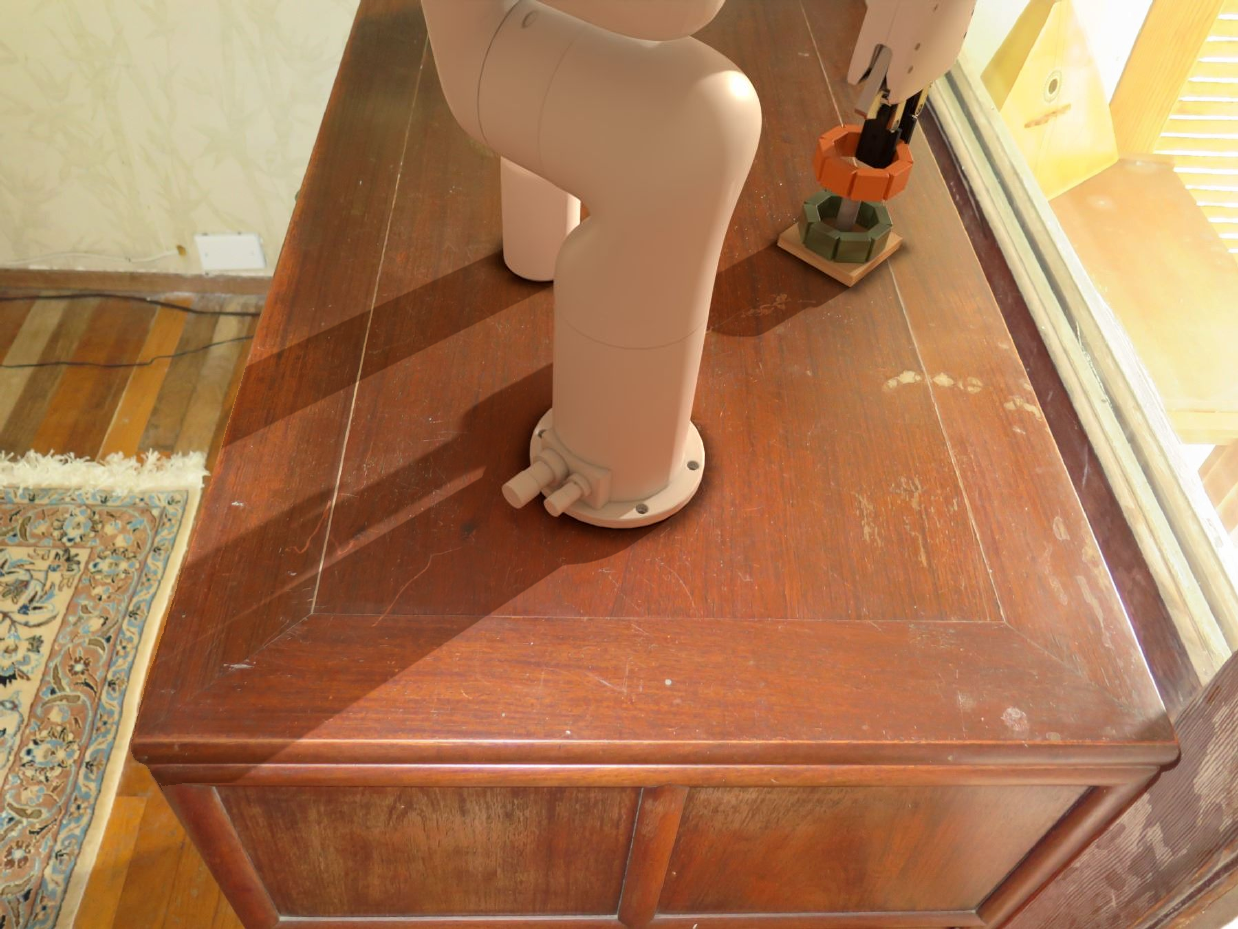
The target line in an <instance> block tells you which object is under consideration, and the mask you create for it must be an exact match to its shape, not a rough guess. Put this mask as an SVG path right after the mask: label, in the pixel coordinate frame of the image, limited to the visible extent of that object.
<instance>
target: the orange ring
mask: <svg viewBox="0 0 1238 929" xmlns="http://www.w3.org/2000/svg"><path fill="white" fill-rule="evenodd" d="M862 129H863V125H858V124H843V126H841V125H837V126H835V127H834V128H832V129H830V130H828V131H826V132H824V133H823V134H822V135H820V136H819V138H818V139H817V145H816V149H815V152H814V156H813V160H812V167H813V170H814V176H815V179H816V182H819V185H820V186H821V187H824V189H825V188H827V189H829V190H831V191H832V192H834V193H836V194H838V195H839V196H841V197H843V198H847V197H848V196H849V197H850V200H856V201H874V202H882V203H883V201H885V202H888V201H889V200H891V199H892V198H893V197H895V196H897V195H898V194H900V193H901V192H903V191H904V190H905V189H906V185H907V183H908V180H909V177H910V174H911V171H912V168H913V165H914V161H915V160H914V159H913V155H912V153H911V150H910V145H909V146H908V144H904V140H902V139H900V138H899V141H898V144H897V147H896V150H895V153H894V156H893V160H892V163H891V165H890V166H888V167H886V168H885V169H874V168H872V167H859V166H856V165H854V164H853V163H851V162H850V161H847V160H845V159H844V158H845V157H846V158H856V157H855V153H856V150H857V146H858V143H859V139H860V136H861V132H862ZM842 157H844V158H842Z"/></svg>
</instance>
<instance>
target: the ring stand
mask: <svg viewBox="0 0 1238 929" xmlns="http://www.w3.org/2000/svg"><path fill="white" fill-rule="evenodd" d="M893 225H894V224H893V221H892V218H891V215H890V212H889V209H888V208H887V206H886V205H885V206H884V202H883V201H882V202H874V201H856V200H850V197H849V196H848V197H847V198H843V197H841V196H839V195H838V194H836V193H834V192H832V191H831V190H829V189H827V188H825V187H824V190H823V189H820V190H818V191H816V192H815V193H813V194H812V195H810V196H809V197H808V198H807V199H805V200H804V201H803V204H802V206H801V211H800V215H799V219H798V221H796V222H795V223H794V224H792V225H791V226H790V227H788V228H787V229H786V230H784V231H783V232H782V233H780V234H779V237H778V240H777V244H776V245H777V246H778V247H780V248H781V249H783V250H785V251H786V252H788V253H790V254H791V255H793V256H795V257H797V258H798V259H800V260H802V261H803V262H805V263H807V264H808V265H810V266H812V267H814V268H816V269H818V271H821V272H823V273H824V274H826V275H828V276H830V277H831V278H833V279H835V280H837V281H838V282H840V283H842V284H843V285H845V286H847V287H849V288H851V287H853V286H854V285H855V284H857V282H859V281H860V280H861V279H862V278H864V277H865V276H866V275H867V274H869V273H871V271H872V270H874V269H875V268H876V267H877V266H879V265H880V264H881V263H883V261H885V260H886V259H887V258H889V257H890V256H891V255H893V254H894V253H895V252H896V251H897V250H899V248H900V247H901V246H900V245H901V243H902V240H903V237H901V236H900V235H898V234H896V233H894V232H892V228H893Z"/></svg>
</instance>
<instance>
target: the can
mask: <svg viewBox="0 0 1238 929" xmlns="http://www.w3.org/2000/svg"><path fill="white" fill-rule="evenodd" d="M499 157H500V160H499V161H500V163H499V164H500V192H501V193H500V194H501V195H500V196H501V226H502V250H503V260H504V263H505V266H507V268H508V269H510V271H512V272H513V273H514V274H515V275H517V276H518V277H520V278H522V279H525V280H527V281H531V282H539V283H541V282H543V283H544V282H552V281H554V271H555V263H556V258H557V255H558V252H559V250H560V247H561V245H562V243H563V242H564V240H565V239H566V237H567V236H568V235H569V233H570V232H571V231H572V230H573V229H574V228H575V227H576V226H577V225H579V224H580V223H581V203H582V202H581V201H580V200H578V199H577V198H576V197H574V196H572V195H571V194H569V193H567V192H565V191H564V190H562V189H560V188H558V187H556V186H555V185H553V184H552V183H551V182H549V181H547V180H545V179H544V178H542V177H540V176H538V175H536V174H534V173H532V172H530V171H528V170H526V169H524V168H523V167H521V166H519V165H517V164H515V163H513V162H511V161H509V160H507V159H505V158H504V157H502V156H500V155H499Z"/></svg>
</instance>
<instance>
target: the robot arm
mask: <svg viewBox="0 0 1238 929" xmlns="http://www.w3.org/2000/svg"><path fill="white" fill-rule="evenodd" d="M977 1H978V0H869V3H868V6H867V9H866V12H865V15H864V18H863V21H862V24H861V28H860V31H859V33H858V37H857V40H856V43H855V46H854V50H853V54H852V57H851V60H850V63H849V67H848V71H847V76H846V81H847V84H848V85H849V86H851V87H856V86H858V85H859V84H861V83H863V82H865V81H866V82H865V84H864V86H863V88H862V91H861V93H860V96H859V97H858V99H857V102H856V105H855V107H854V110H853V112H854V114H856V115H858V116H860V117H863V120H864V121H863V125H862V126H863V129H862V132H861V136H860V139H859V143H858V146H857V150H856V153H855V157H854V158H855V159H856V160H857V161H859V162H861V163H863V164H864V165H867V166H869V168H874V169H885V168H886V167H888V166H890V165H891V163H892V160H893V156H894V153H895V150H896V147H897V144H898V141H899V138H900V139H902V140H904V144H908V146H909V147H910V143H911V140H912V137H913V134H914V132H915V131H914V130H915V127H916V125H917V122H918V118H917V117H918V116H919V115H920V114H921V112H922V111H923V109H924V106H925V103H926V101H927V97H928V95H929V91H930V89H931V88H932V84H934V82H936V81H937V80H939V79H940V78H941V77H943V76H944V75H945V74H947V73H948V72H949V71H950V70H951V69H952V68H953V67H954V66H955V64H956V61H957V59H958V57H959V55H960V53H961V51H962V48H963V45H964V42H965V41H966V40H965V39H966V36H967V34H968V31H969V28H970V24H971V22H972V19H973V15H974V12H975V9H976V5H977ZM725 2H726V0H420V5H421V9H422V13H423V18H424V21H425V27H426V30H427V34H428V38H429V42H430V47H431V51H432V55H433V59H434V63H435V68H436V72H437V76H438V80H439V83H440V87H441V90H442V93H443V95H444V99H445V102H446V104H447V105H448V108H449V110H450V112H451V114H452V115H453V117H454V119H455V120H456V122H457V124H458V125H459V126H460V128H462V130H463V131H464V132H465V133H466V134H467V135H468V136H469V137H470V138H472V140H474V141H476V142H477V143H478V144H480V145H481V146H483V147H485V148H486V149H488V150H489V151H491V152H493V153H495V154H496V155H497V156H499V157H500V156H502V157H504V158H505V159H507V160H509V161H511V162H513V163H515V164H517V165H519V166H521V167H523V168H524V169H526V170H528V171H530V172H532V173H534V174H536V175H538V176H540V177H542V178H544V179H545V180H547V181H549V182H551V183H552V184H553V185H555V186H556V187H558V188H560V189H562V190H564V191H565V192H567V193H569V194H571V195H572V196H574V197H576V198H577V199H578V200H580V201H581V202H580V203H582V204H583V205H584V206H585V207H586V208H587V211H588V212H589V216H588V217H586V218H585V219H583V220H582V221H580V224H579V225H577V226H576V227H575V228H574V229H573V230H572V231H571V232H570V233H569V235H568V236H567V237H566V239H565V240H564V242H563V243H562V245H561V247H560V250H559V252H558V255H557V258H556V263H555V271H554V280H553V343H552V344H553V345H552V346H553V347H552V348H553V349H552V352H553V353H552V406H551V407H550V408H549V409H548V411H546V413H545V414H544V415H543V416H542V417H541V418H540V419H539V421H538V422H537V424H536V426H535V428H534V430H533V431H532V432H533V433H532V436H531V439H530V445H529V463H530V466H529V467H528V468H526V469H524V470H521V471H520V472H519V473H518V474H516V475H515V476H514V477H513V478H510V479H509V480H508V481H507V482H505V483H504V484H503V485H502V486H501V492H502V495H503V497H504V498H505V500H506V502H508V504H510V505H511V506H512V507H513V508H515V509H522V508H523V507H524V506H525V505H527V504H528V503H529V502H531V501H532V500H533V499H534V498H536V497H537V496H538V495H540V493H542V495H543V496H544V497H545V499H544V500H543V506H544V508H545V510H546V511H547V512H548V513H549V514H550V515H551V516H553V517H556V518H557V517H559V516H560V515H561V514H563V513H564V514H566V515H567V516H570V517H572V518H574V519H576V520H578V521H580V522H584V523H587V524H589V525H594V526H596V527H604V528H611V529H633V528H638V527H645V526H649V525H653V524H655V523H658V522H661V521H663V520H665V519H667V518H669V517H671V516H672V515H674V514H676V513H677V512H679V511H680V510H681V509H683V507H684V506H686V505H688V503H689V502H690V501H691V499H692V498H693V496H694V495H695V494H696V492H697V491H698V488H699V486H700V485H701V484H700V483H701V482H702V478H703V474H704V469H705V459H706V458H705V456H706V455H705V454H706V453H705V448H704V442H703V440H702V436H700V433H699V431H698V428H696V426H695V424H694V423H693V422H692V421H691V416H692V411H693V405H694V401H695V395H696V389H697V383H698V377H699V372H700V367H701V360H702V356H703V351H704V350H703V349H704V343H705V339H706V333H707V329H708V328H707V327H708V321H709V314H710V309H711V302H712V297H713V292H714V286H715V281H716V275H717V271H718V266H719V261H720V257H721V252H722V249H723V246H724V242H725V238H726V234H727V232H728V228H729V225H730V222H731V219H732V217H733V214H734V210H735V208H736V205H737V203H738V200H739V198H740V195H741V193H742V190H743V188H744V186H745V183H746V181H747V178H748V175H749V174H750V171H751V168H752V165H753V162H754V160H755V157H756V154H757V151H758V147H759V143H760V138H761V134H762V126H763V125H762V124H763V113H762V107H761V103H760V98H759V96H758V94H757V91H756V89H755V87H754V86H753V83H752V82H751V80H750V79H749V77H747V75H746V74H745V73H744V72H743V71H742V69H741V68H740V67H739V66H738V65H737V64H736V63H734V62H733V61H732V60H731V59H729V58H728V57H727V56H726V55H724V54H723V53H721V52H720V51H718V50H716V49H715V48H713V47H712V46H710V45H708V44H707V43H705V42H702V41H701V40H698V39H697V38H695V37H693V36H691V35H694V34H695V33H697V32H699V31H700V30H701V29H703V28H704V27H706V26H707V25H708V24H710V23H711V22H712V20H714V18H715V17H716V16H717V14H718V13H719V11H720V10H721V8H722V7H723V6H724V4H725ZM882 99H884V100H886V101H887V103H885V102H883V101H881V100H882Z"/></svg>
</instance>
